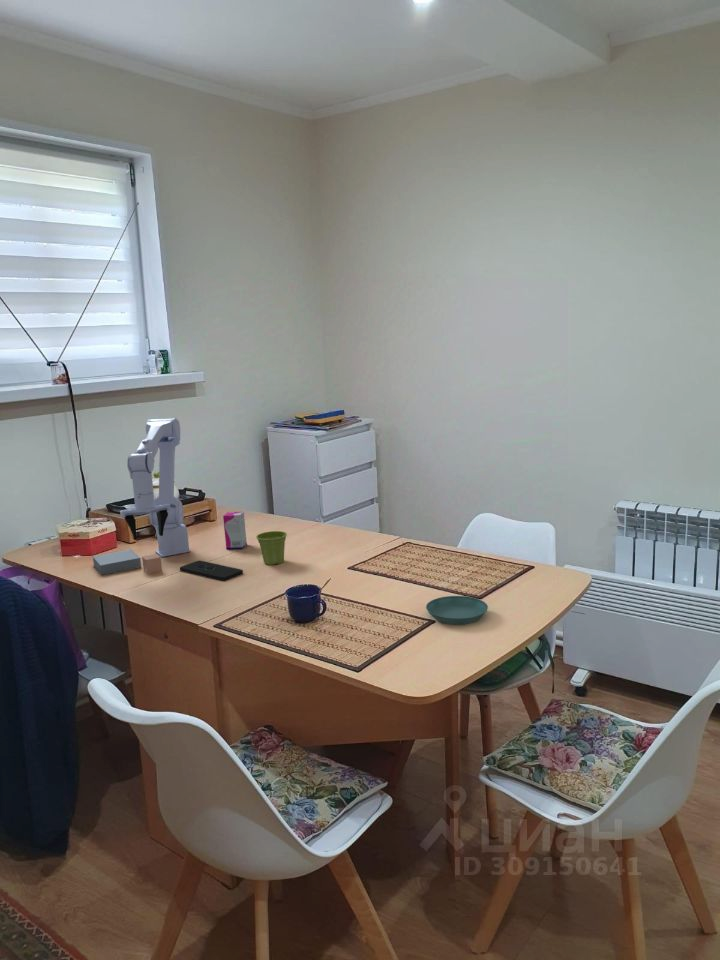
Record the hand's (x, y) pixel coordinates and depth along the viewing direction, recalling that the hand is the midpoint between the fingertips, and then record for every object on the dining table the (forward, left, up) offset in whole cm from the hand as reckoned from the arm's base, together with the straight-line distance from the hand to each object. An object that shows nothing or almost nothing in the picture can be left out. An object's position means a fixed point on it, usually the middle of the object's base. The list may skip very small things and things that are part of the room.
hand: (148, 537), depth 228 cm
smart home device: (-14, +13, -11) cm, 22 cm away
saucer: (-51, +85, -11) cm, 100 cm away
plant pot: (-33, +16, -11) cm, 38 cm away
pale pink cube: (0, 0, -11) cm, 11 cm away
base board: (+8, -12, -11) cm, 18 cm away
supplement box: (-30, -8, -11) cm, 33 cm away
